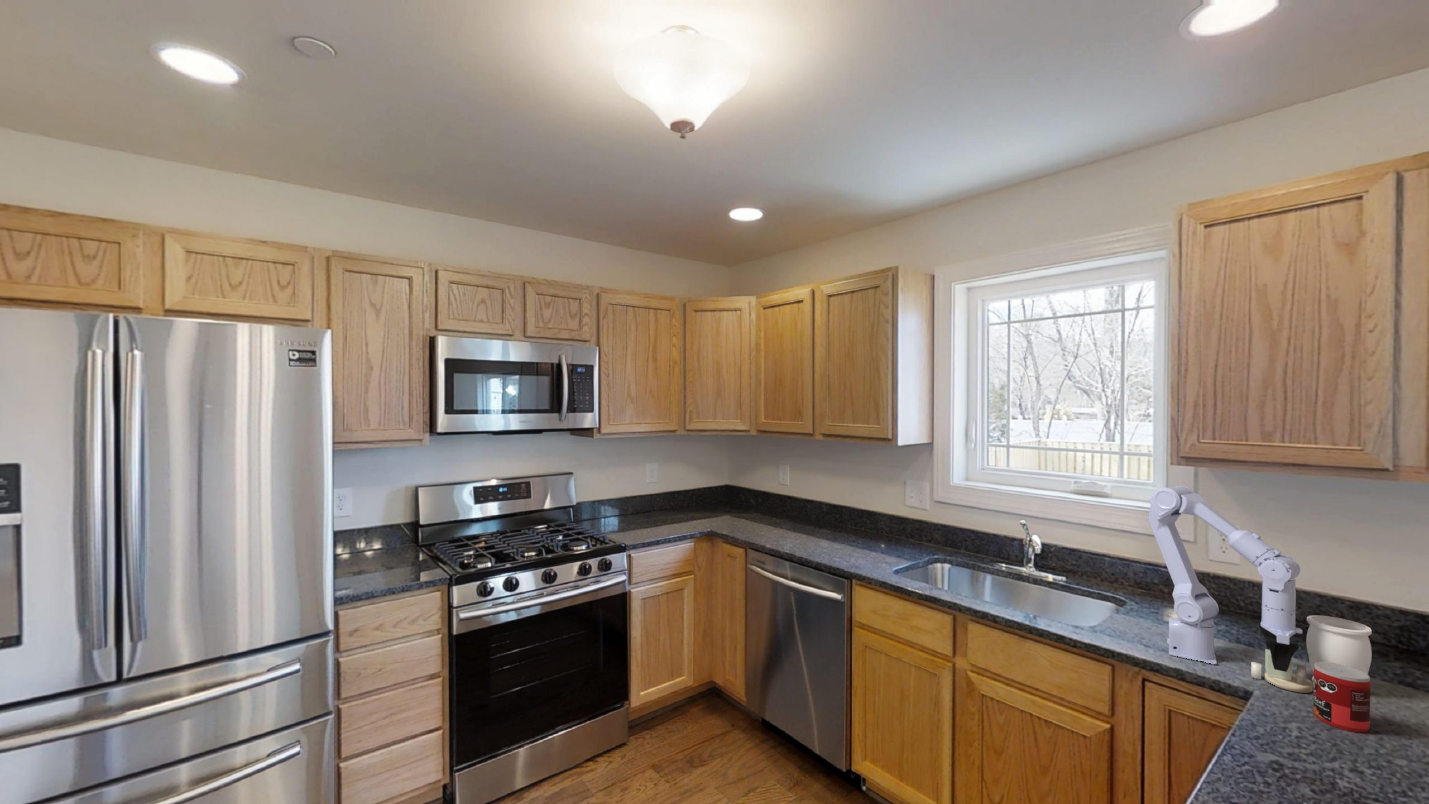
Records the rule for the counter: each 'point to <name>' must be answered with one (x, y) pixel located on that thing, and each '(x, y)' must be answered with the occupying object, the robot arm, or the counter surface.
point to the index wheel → (1293, 681)
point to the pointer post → (1256, 670)
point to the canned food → (1341, 696)
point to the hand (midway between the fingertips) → (1277, 664)
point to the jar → (1338, 642)
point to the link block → (1272, 671)
